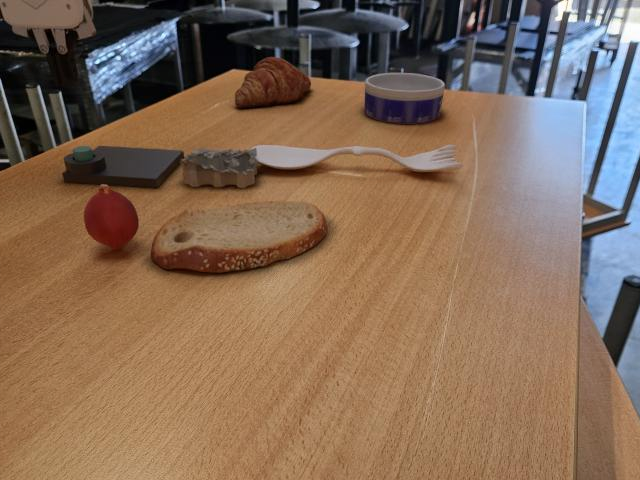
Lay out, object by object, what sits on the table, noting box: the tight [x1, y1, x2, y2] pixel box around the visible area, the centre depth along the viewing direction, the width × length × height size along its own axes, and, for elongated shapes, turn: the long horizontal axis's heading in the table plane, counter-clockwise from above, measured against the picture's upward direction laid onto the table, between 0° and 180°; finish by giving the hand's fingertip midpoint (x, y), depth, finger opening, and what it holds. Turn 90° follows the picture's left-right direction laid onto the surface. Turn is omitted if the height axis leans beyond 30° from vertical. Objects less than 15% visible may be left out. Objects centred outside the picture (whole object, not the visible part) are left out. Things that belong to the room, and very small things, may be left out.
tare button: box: [72, 145, 94, 161], centre depth 83 cm, size 3×3×2 cm
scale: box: [61, 145, 185, 189], centre depth 86 cm, size 14×12×3 cm
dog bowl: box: [364, 72, 446, 125], centre depth 112 cm, size 15×15×6 cm
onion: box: [83, 184, 140, 251], centre depth 65 cm, size 6×6×8 cm
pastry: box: [234, 56, 312, 109], centre depth 119 cm, size 17×15×8 cm
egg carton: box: [180, 147, 258, 189], centre depth 84 cm, size 11×8×4 cm
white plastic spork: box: [250, 143, 464, 173], centre depth 88 cm, size 9×32×4 cm, turn 86°
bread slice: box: [150, 200, 328, 274], centre depth 68 cm, size 18×18×4 cm
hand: (67, 83), depth 77 cm, fingers closed
